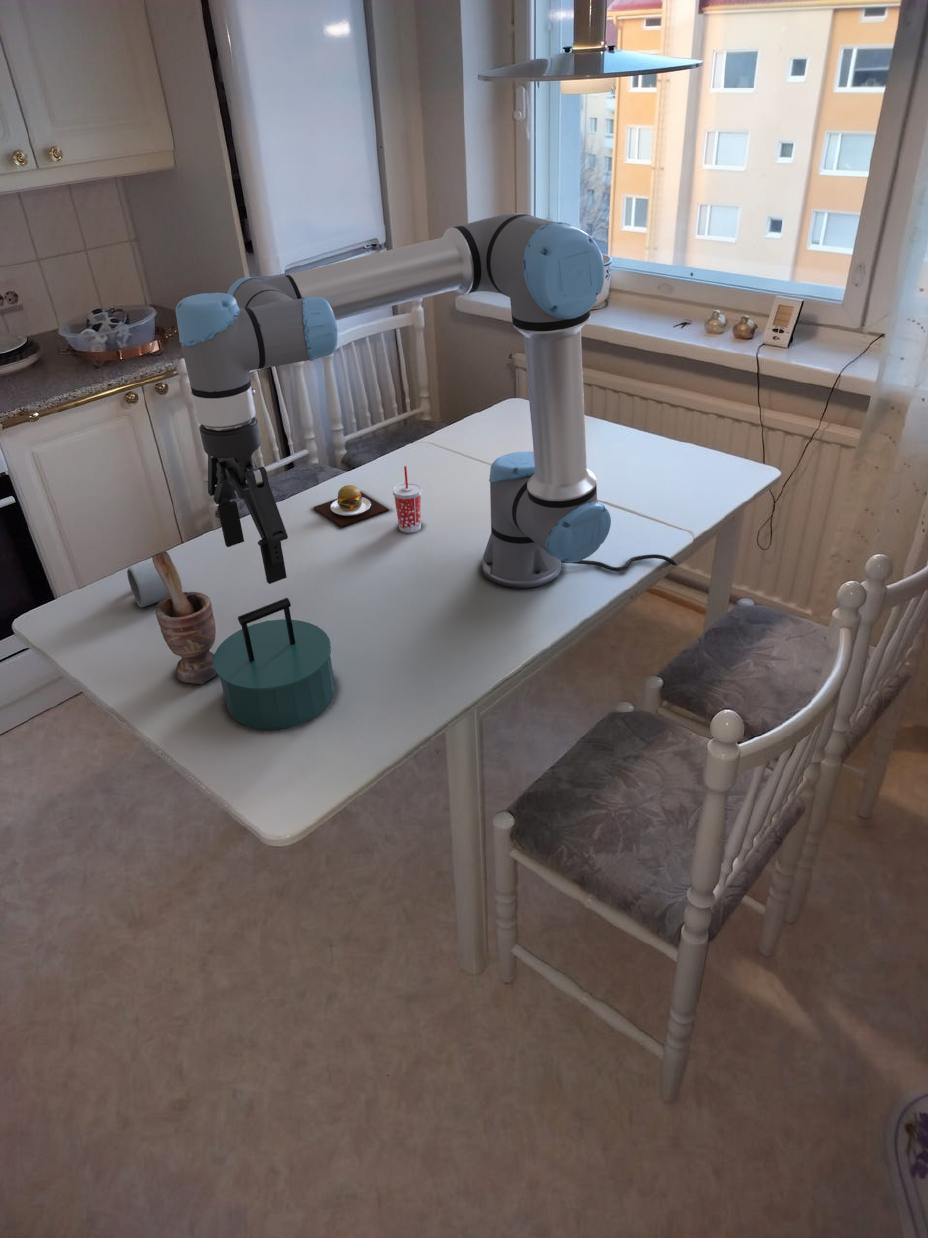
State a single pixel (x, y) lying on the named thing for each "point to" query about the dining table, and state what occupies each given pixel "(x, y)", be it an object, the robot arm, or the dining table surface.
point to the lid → (271, 651)
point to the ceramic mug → (148, 584)
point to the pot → (282, 702)
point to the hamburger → (350, 507)
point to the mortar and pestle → (186, 625)
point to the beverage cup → (408, 505)
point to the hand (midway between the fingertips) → (255, 561)
